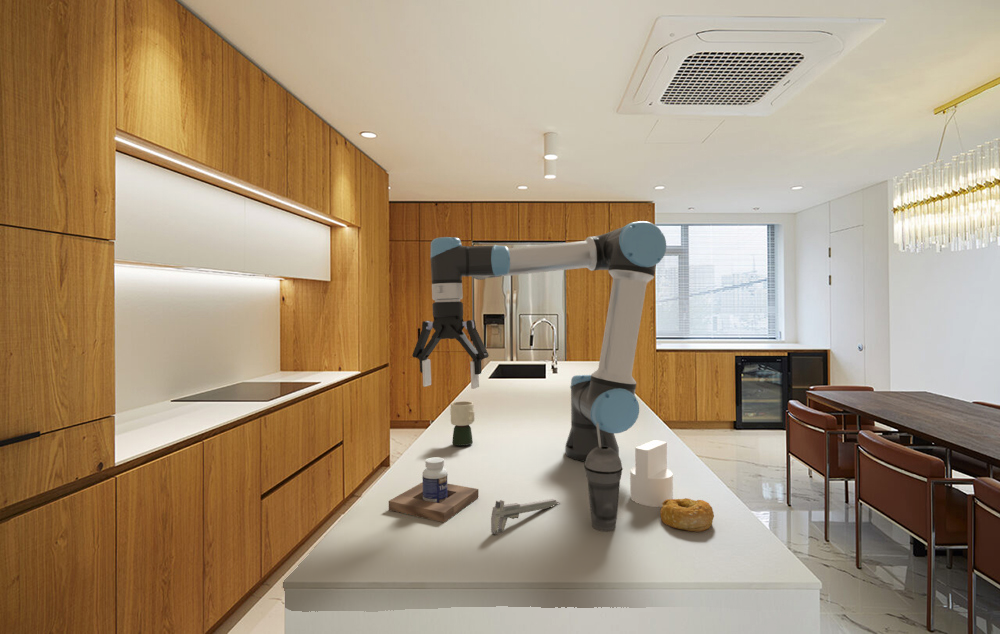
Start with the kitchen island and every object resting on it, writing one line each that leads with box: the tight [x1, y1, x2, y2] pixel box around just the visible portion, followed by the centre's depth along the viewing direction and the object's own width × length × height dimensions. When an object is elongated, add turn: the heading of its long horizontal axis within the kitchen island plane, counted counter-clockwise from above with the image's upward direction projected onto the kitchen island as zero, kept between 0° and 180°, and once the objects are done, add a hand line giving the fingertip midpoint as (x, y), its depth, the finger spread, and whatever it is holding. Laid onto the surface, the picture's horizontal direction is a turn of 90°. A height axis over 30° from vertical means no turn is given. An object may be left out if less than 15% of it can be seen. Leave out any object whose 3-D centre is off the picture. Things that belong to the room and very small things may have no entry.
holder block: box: [388, 481, 479, 523], centre depth 109 cm, size 14×14×2 cm
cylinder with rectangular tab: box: [629, 439, 674, 508], centre depth 110 cm, size 9×9×12 cm
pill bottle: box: [421, 456, 448, 503], centre depth 108 cm, size 5×5×10 cm
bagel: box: [659, 498, 715, 533], centre depth 99 cm, size 10×11×5 cm
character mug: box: [449, 400, 475, 447], centre depth 154 cm, size 11×7×13 cm, turn 44°
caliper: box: [490, 498, 560, 536], centre depth 101 cm, size 20×1×6 cm, turn 137°
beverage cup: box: [584, 423, 624, 532], centre depth 97 cm, size 7×7×20 cm
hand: (450, 386), depth 123 cm, fingers open, 13 cm apart
